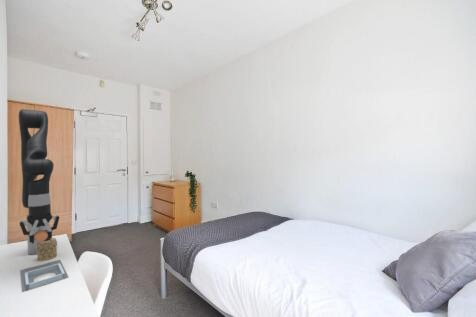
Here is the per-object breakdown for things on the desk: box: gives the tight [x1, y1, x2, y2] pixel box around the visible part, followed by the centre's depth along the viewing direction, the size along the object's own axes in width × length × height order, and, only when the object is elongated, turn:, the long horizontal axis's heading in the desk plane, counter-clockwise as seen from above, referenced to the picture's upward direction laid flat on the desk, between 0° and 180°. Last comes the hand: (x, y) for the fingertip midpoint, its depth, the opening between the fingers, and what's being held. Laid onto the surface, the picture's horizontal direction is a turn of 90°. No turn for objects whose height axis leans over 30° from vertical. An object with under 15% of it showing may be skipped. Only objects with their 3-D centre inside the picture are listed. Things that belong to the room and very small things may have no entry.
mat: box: [19, 259, 69, 293], centre depth 98 cm, size 24×14×1 cm, turn 45°
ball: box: [34, 230, 48, 242], centre depth 103 cm, size 5×5×5 cm
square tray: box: [25, 263, 66, 292], centre depth 94 cm, size 14×12×2 cm
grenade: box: [36, 229, 58, 262], centre depth 114 cm, size 8×7×15 cm
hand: (40, 241), depth 103 cm, fingers closed on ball, 5 cm apart
